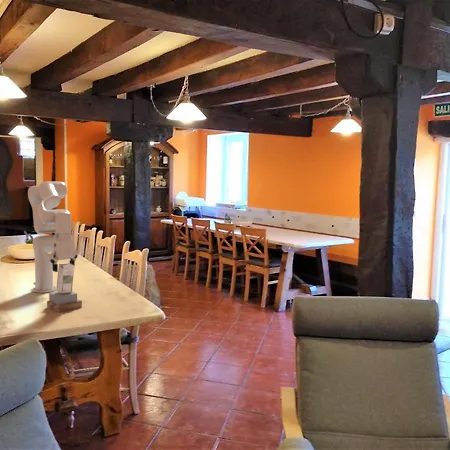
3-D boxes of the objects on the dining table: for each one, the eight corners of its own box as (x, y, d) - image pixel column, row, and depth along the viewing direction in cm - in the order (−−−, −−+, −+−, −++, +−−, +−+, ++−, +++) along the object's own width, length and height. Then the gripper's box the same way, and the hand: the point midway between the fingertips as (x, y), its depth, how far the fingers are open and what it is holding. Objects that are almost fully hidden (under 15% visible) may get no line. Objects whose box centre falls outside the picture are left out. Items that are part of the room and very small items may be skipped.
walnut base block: (47, 308, 236) (46, 301, 236) (67, 303, 246) (67, 296, 245) (61, 313, 229) (60, 305, 228) (81, 308, 238) (81, 300, 238)
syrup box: (66, 289, 241) (69, 262, 239) (72, 293, 237) (74, 265, 235) (56, 291, 237) (58, 263, 235) (61, 294, 233) (63, 266, 231)
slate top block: (49, 300, 237) (49, 292, 236) (68, 297, 244) (67, 289, 243) (58, 304, 230) (58, 296, 229) (77, 301, 237) (77, 293, 236)
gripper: (52, 239, 223) (52, 274, 226) (82, 235, 237) (82, 268, 240) (43, 237, 228) (43, 271, 230) (73, 233, 242) (73, 266, 244)
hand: (63, 269), depth 235 cm, fingers open, 9 cm apart
